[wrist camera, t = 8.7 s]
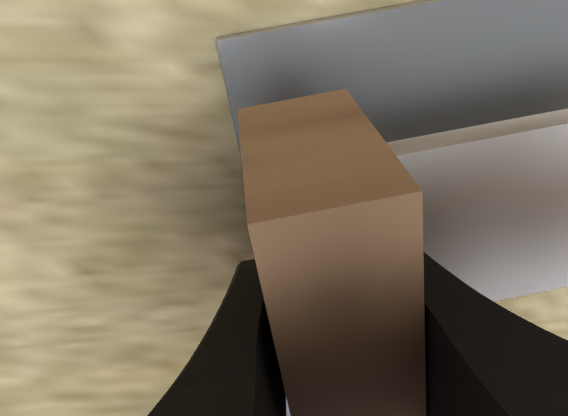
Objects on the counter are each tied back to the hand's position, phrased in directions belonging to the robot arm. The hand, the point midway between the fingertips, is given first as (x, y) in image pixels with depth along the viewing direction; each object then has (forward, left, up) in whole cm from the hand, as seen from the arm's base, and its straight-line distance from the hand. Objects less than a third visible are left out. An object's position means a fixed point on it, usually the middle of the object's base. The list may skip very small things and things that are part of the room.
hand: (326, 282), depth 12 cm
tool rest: (0, -5, -7) cm, 8 cm away
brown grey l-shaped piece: (0, -4, -2) cm, 4 cm away
